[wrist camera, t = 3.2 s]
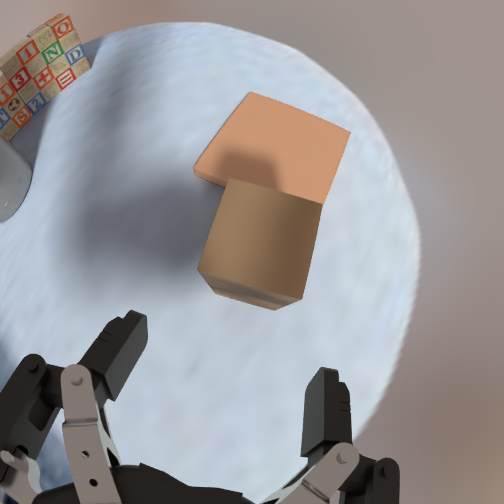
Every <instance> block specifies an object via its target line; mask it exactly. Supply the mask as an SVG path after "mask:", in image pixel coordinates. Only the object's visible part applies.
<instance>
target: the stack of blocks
mask: <svg viewBox="0 0 504 504" xmlns="http://www.w3.org/2000/svg"><path fill="white" fill-rule="evenodd" d="M89 69H91V66H90V64H89V62H88V60H87V57H86V56H85V53H84V50H83V48H82V45H81V43H80V40H79V37H78V34H77V32H76V30H75V29H74V27H73V25H72V22H71V19H70V17H69V15H66V14H58V15H56V16H55V17H53V18H52V19H50V20H49V21H47V22H46V23H44V24H41V25H40V26H39V27H37V28H36V29H35V30H33V31H32V32H30V33H29V34H28V35H27V36H26V37H25V38H23V39H22V40H21V41H20V42H18V43H17V44H16V45H15V46H14V47H13V48H12V49H10V50H9V51H8V52H7V53H6V54H4V55H3V56H2V57H1V58H0V70H1V71H2V72H3V75H2V76H1V77H0V133H1V135H2V136H3V137H4V138H5V139H6V140H7V141H8V142H9V141H10V140H11V138H12V137H13V136H14V135H15V134H16V133H17V132H18V131H19V130H20V128H22V127H23V126H24V125H25V124H26V123H27V122H28V121H29V120H30V119H31V118H32V117H33V115H35V114H36V113H37V112H38V111H39V110H40V109H41V108H42V107H43V106H44V105H45V104H46V103H47V102H49V101H50V100H51V99H52V98H53V97H54V96H55V95H57V94H58V93H59V92H60V91H61V90H63V89H64V88H65V87H67V86H68V85H69V84H70V83H72V82H73V81H74V80H76V79H77V78H78V77H80V76H81V75H82V74H84V73H85V72H86V71H88V70H89Z"/></svg>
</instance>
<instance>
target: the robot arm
mask: <svg viewBox="0 0 504 504" xmlns="http://www.w3.org/2000/svg"><path fill="white" fill-rule="evenodd" d="M31 175H32V169H31V165H30V163H29V162H28V161H27V160H26V159H25V158H24V157H23V156H22V155H21V154H20V153H19V152H18V151H17V150H16V149H15V148H14V147H13V146H12V145H11V144H10V143H9V142H8V141H7V140H6V139H5V138H4V137H3V136H2V135H1V133H0V223H2V222H4V221H6V220H7V219H9V218H10V217H11V216H12V215H13V214H14V213H15V212H16V210H17V209H18V208H19V206H20V204H21V203H22V201H23V199H24V197H25V195H26V193H27V191H28V188H29V185H30V181H31ZM147 340H148V329H147V316H146V315H144V314H141V313H138V312H136V311H133V310H130V311H129V312H128V313H127V314H126V316H125V317H124V318H120V317H116V318H115V319H113V320H111V321H110V322H108V324H107V325H106V326H105V328H104V329H103V331H102V332H101V333H100V334H99V336H98V338H96V340H95V341H94V342H93V344H92V345H91V346H90V348H89V349H88V351H87V352H86V353H85V355H84V356H83V357H82V359H81V360H80V361H79V362H78V363H77V364H73V365H69V366H68V367H66V368H64V367H58V366H54V365H50V364H46V362H45V360H44V359H43V358H42V357H41V356H40V355H38V354H29V355H27V356H25V357H24V358H23V360H22V361H21V362H20V364H19V365H18V367H17V368H16V370H15V371H14V373H13V374H12V376H11V377H10V379H9V380H8V382H7V383H6V385H5V386H4V388H3V390H2V391H1V393H0V488H1V489H2V490H3V491H5V492H6V493H7V494H8V495H9V496H11V497H12V498H13V499H14V500H16V501H17V502H18V503H19V504H255V503H253V502H252V501H250V500H248V499H247V498H245V497H242V495H243V493H240V492H235V491H230V490H225V489H221V488H212V487H192V486H188V485H186V484H184V483H182V482H180V481H179V480H177V479H175V478H174V477H172V476H170V475H169V474H167V473H165V472H163V471H160V470H158V469H155V468H153V467H150V466H148V465H145V464H143V463H140V465H139V466H137V465H122V463H121V460H120V457H119V454H118V451H117V449H116V446H115V444H114V442H113V439H112V435H111V431H110V427H109V423H108V419H107V415H106V411H105V406H104V404H105V402H106V401H107V399H110V400H112V401H114V402H115V400H116V398H117V397H118V395H119V393H120V391H121V389H122V388H123V386H124V384H125V382H126V380H127V379H128V377H129V375H130V373H131V372H132V370H133V368H134V366H135V364H136V363H137V361H138V359H139V358H140V356H141V354H142V352H143V351H144V349H145V347H146V344H147ZM61 408H62V409H64V416H65V422H63V424H62V431H63V437H64V443H65V448H66V453H67V457H68V461H69V466H70V470H71V473H72V477H73V481H74V482H72V483H69V484H66V485H63V486H60V487H57V488H54V489H50V490H47V491H42V490H41V488H40V485H39V477H40V470H39V467H38V465H37V463H36V462H35V461H36V459H37V456H38V454H39V452H40V450H41V448H42V445H43V443H44V441H45V439H46V437H47V435H48V433H49V431H50V429H51V427H52V425H53V423H54V421H55V419H56V417H57V415H58V413H59V411H60V409H61ZM350 411H351V408H350V393H349V390H348V388H347V386H346V384H345V383H344V382H339V374H338V370H336V369H331V368H325V367H321V368H320V369H319V370H318V371H317V373H316V374H315V376H314V377H313V378H312V380H311V381H310V383H309V384H308V386H307V389H306V392H305V402H304V419H303V432H302V445H301V456H300V457H308V463H307V464H306V465H305V466H304V467H303V468H302V469H301V470H300V471H299V472H298V473H297V474H296V475H294V476H293V477H292V478H291V479H290V480H289V481H288V482H287V483H286V484H284V485H283V486H282V487H281V488H280V489H279V490H277V491H276V492H274V493H273V494H271V495H270V496H268V497H267V498H266V499H265V500H263V501H262V502H261V503H259V504H329V503H330V501H329V499H330V497H331V496H332V495H333V494H334V493H335V492H336V490H339V491H340V498H339V504H399V491H400V490H399V489H400V473H399V471H400V470H399V466H398V464H397V463H396V461H394V460H393V459H391V458H383V459H381V460H379V461H376V460H373V459H371V458H367V457H365V456H362V455H361V454H359V453H358V451H357V449H356V448H355V447H354V446H353V443H352V428H351V413H350Z"/></svg>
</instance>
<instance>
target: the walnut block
mask: <svg viewBox="0 0 504 504" xmlns="http://www.w3.org/2000/svg"><path fill="white" fill-rule="evenodd" d="M322 205H323V204H321V203H318V202H315V201H311V200H308V199H305V198H302V197H298V196H295V195H291V194H288V193H284V192H281V191H277V190H274V189H270V188H267V187H263V186H259V185H255V184H252V183H248V182H244V181H240V180H236V179H232V178H229V180H228V182H227V185H226V188H225V190H224V193H223V196H222V199H221V201H220V204H219V207H218V210H217V213H216V215H215V218H214V221H213V224H212V227H211V230H210V233H209V236H208V238H207V241H206V244H205V247H204V250H203V253H202V256H201V259H200V262H199V265H198V269H197V270H198V271H199V273H200V274H201V275H202V277H203V278H204V279H205V281H206V282H207V283H208V285H209V286H210V287H211V289H212V290H213V291H214V293H215V294H218V295H221V296H225V297H228V298H231V299H235V300H238V301H242V302H245V303H249V304H252V305H256V306H260V307H263V308H267V309H271V310H277V309H279V308H282V307H284V306H287V305H289V304H292V303H294V302H297V301H299V300H302V297H303V293H304V289H305V285H306V281H307V277H308V272H309V268H310V263H311V259H312V254H313V250H314V245H315V240H316V236H317V231H318V226H319V221H320V216H321V211H322Z"/></svg>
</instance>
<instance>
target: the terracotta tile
mask: <svg viewBox="0 0 504 504" xmlns="http://www.w3.org/2000/svg"><path fill="white" fill-rule="evenodd" d="M350 134H351V132H349V131H347V130H345V129H343V128H341V127H339V126H337V125H335V124H333V123H330V122H328V121H326V120H324V119H321V118H319V117H317V116H315V115H312V114H310V113H307V112H305V111H303V110H300V109H298V108H295V107H293V106H290V105H287V104H285V103H282V102H279V101H277V100H274V99H271V98H268V97H265V96H262V95H259V94H256V93H253V92H250V93H249V94H248V95H247V96H246V97H245V99H244V100H243V101H242V102H241V104H240V105H239V106H238V107H237V109H236V110H235V111H234V113H233V114H232V115H231V116H230V118H229V119H228V120H227V122H226V123H225V124H224V126H223V127H222V128H221V130H220V131H219V132H218V134H217V135H216V136H215V138H214V139H213V140H212V142H211V143H210V145H209V146H208V147H207V149H206V150H205V152H204V153H203V154H202V156H201V157H200V159H199V160H198V162H197V163H196V165H195V166H194V167H193V171H194V174H195V175H196V176H198V177H201V178H203V179H206V180H208V181H210V182H213V183H215V184H217V185H220V186H222V187H224V188H226V185H227V182H228V180H229V178H232V179H236V180H240V181H244V182H248V183H252V184H255V185H259V186H263V187H267V188H270V189H274V190H277V191H281V192H284V193H288V194H291V195H295V196H298V197H302V198H305V199H308V200H311V201H315V202H318V203H321V204H323V205H324V202H325V200H326V197H327V195H328V192H329V190H330V187H331V185H332V182H333V179H334V177H335V174H336V172H337V169H338V166H339V164H340V161H341V158H342V156H343V153H344V150H345V147H346V145H347V142H348V139H349V136H350ZM323 205H322V207H323Z"/></svg>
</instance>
